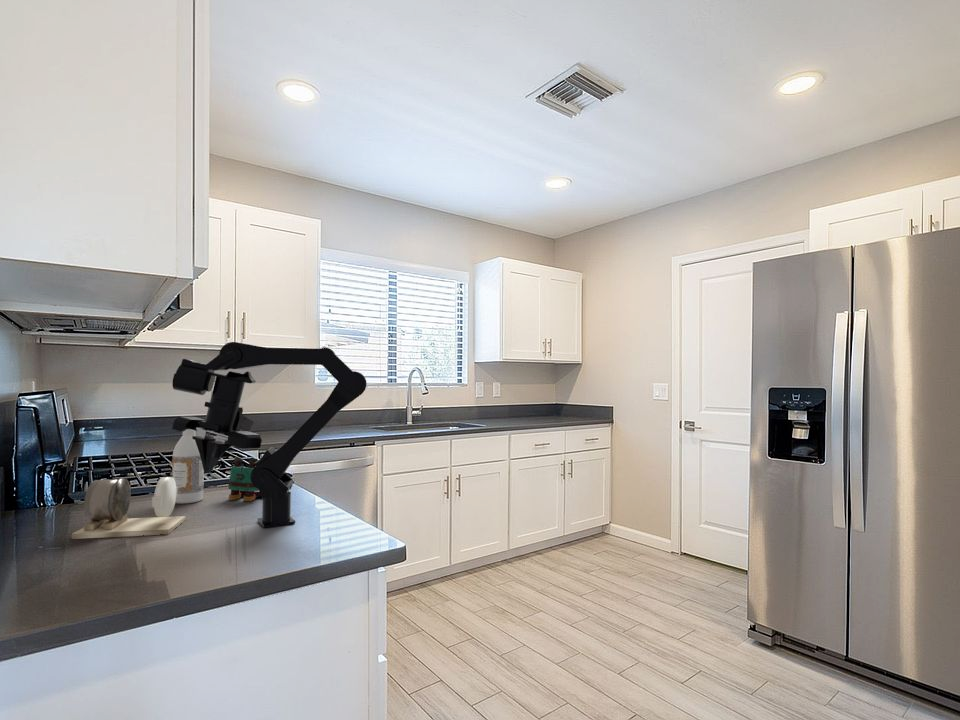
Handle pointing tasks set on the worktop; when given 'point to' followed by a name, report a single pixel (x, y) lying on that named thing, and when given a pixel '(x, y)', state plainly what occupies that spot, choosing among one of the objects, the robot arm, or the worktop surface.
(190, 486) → the bath foam
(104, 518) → the cylinder
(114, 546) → the worktop surface
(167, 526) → the birch board
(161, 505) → the white oval slab
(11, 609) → the worktop surface
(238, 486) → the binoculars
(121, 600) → the worktop surface
